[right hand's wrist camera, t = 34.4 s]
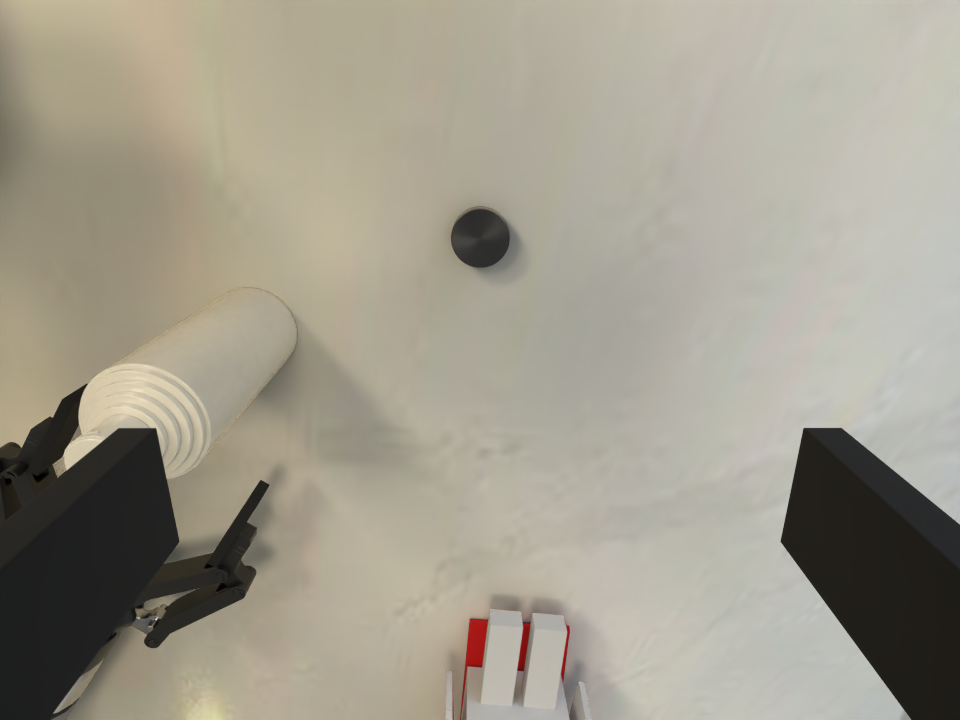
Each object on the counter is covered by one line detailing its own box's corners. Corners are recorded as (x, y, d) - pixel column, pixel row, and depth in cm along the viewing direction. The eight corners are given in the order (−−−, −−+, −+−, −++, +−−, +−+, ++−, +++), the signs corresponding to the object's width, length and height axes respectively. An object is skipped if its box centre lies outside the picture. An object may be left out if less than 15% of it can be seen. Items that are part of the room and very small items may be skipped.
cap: (503, 201, 43) (504, 204, 42) (512, 257, 45) (513, 262, 43) (447, 211, 44) (445, 214, 42) (458, 267, 45) (457, 272, 44)
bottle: (310, 311, 46) (189, 437, 27) (279, 384, 48) (148, 550, 29) (224, 272, 45) (37, 374, 26) (197, 349, 47) (5, 496, 28)
